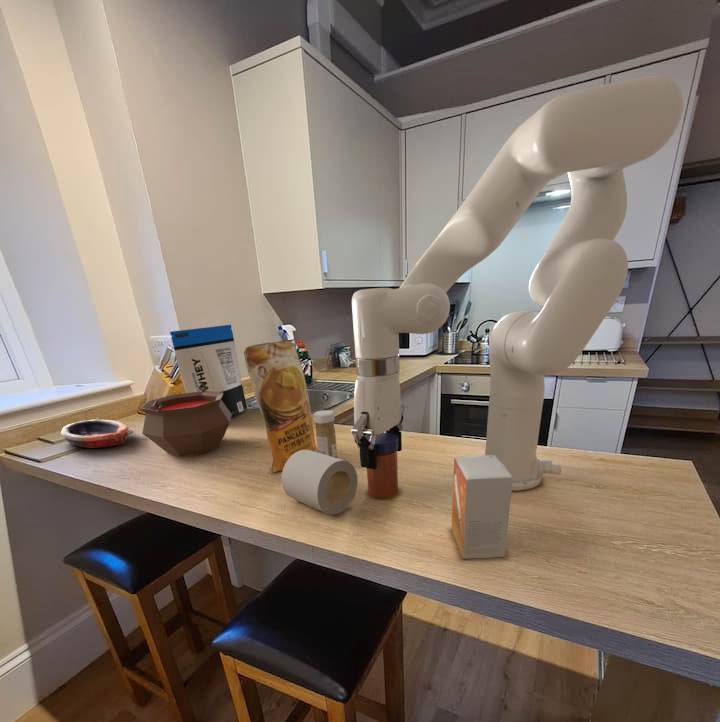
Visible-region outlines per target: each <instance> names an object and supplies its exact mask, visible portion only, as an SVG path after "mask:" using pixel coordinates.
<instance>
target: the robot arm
mask: <svg viewBox="0 0 720 722" xmlns="http://www.w3.org/2000/svg"><path fill="white" fill-rule="evenodd" d="M683 107H684V100H683V93H682V90H681V88H680V86H679V85H678V84H677V83H676V82H675V81H674V80H673V79H671V78H669V77H667V76H665V75H657V74H652V75H645V76H640V77H636V78H630V79H626V80H622V81H617V82H612V83H605V84H601V85H596V86H591V87H587V88H582V89H577V90H574V91H570V92H566V93H563V94H560V95H558V96H556V97H554V98H552V99H551V100H549V101H547V102H546V103H545V104H544V105H542V107H540V108H539V109H538V110H536V111H535V112H534V113H533V114H531V115H530V116H529V117H528V118H526V119H525V120H524V121H523V122H522V123H521V124H519V126H518V127H516V129H515V130H514V131H513V132H512V134H510V135H509V137H508V139H507V140H506V141H505V142H504V144H503V145H502V147H501V148H500V150H499V151H498V153H497V154H496V155H495V157H494V158H493V159H492V161H491V162H490V164H489V165H488V167H487V168H486V170H485V171H484V172H483V174H482V175H481V177H480V178H479V180H478V181H477V182H476V184H475V185H474V187H473V188H472V190H471V191H470V192H469V193H468V194H467V196H466V198H465V199H464V201H463V202H462V203H461V205H460V206H459V207H458V208H457V210H456V211H455V213H454V214H453V216H452V217H451V218H450V219H449V220H448V221H447V223H446V224H445V225H444V227H443V228H442V230H441V231H440V232H439V234H438V235H437V236H436V238H434V241H433V242H432V243H431V244H430V245H429V247H427V249H426V250H425V251H424V253H423V254H422V256H420V258H419V259H418V261H417V262H416V263H415V264H414V266H413V268H412V269H411V270H410V272H409V273H408V274H407V276H406V278H405V279H404V281H403V282H402V283H401V284H400V286H399V288H391V287H374V288H365V289H359V290H357V291H355V292H354V293H353V295H352V297H351V311H352V312H351V313H352V314H351V315H352V326H353V327H352V329H353V340H354V343H353V344H354V354H355V355H354V356H355V369H356V379H355V382H354V392H353V421H354V422H353V423H354V425H353V427H352V428H351V431H350V432H351V435H352V436H353V439H354V443H355V444H356V447H357V448H358V449H359V461H360V467H361V468H365V469H367V468H369V469H376V468H377V457H376V448H374V444H375V441H376V438H377V436H378V435H380V434H382V433H392V434H395V435H397V436H398V445H399V446H398V447H399V448H398V449H397V452H401V451H402V450H403V443H402V442H403V441H402V439H403V437H402V436H403V435H402V432H403V421H404V419H405V418H404V412H405V405H404V403H402V391H401V381H400V373H401V372H400V335H399V334H415V335H426V334H431V333H434V332H436V331H437V330H439V329H440V328H441V327H442V326H443V325H444V324H445V323H446V322H447V320H448V318H449V315H450V311H451V303H450V299H449V296H448V294H447V293H448V291H449V290H450V289H451V288H452V286H453V285H454V284H455V283H456V282H457V281H458V280H459V279H460V278H461V277H463V275H465V273H467V272H468V271H469V270H471V269H472V268H473V267H475V266H477V265H478V264H480V263H481V262H482V261H484V260H485V259H487V258H488V257H490V255H491V254H493V252H495V251H496V250H497V249H498V248H499V247H500V246H501V244H502V243H503V242H504V241H505V239H506V238H507V237H508V235H509V234H510V233H511V231H512V230H513V229H514V227H515V226H516V225H517V223H518V222H519V220H520V219H521V218H522V217H523V215H524V214H525V212H527V211H528V209H529V208H530V206H531V204H532V203H533V202H534V200H535V199H536V198H537V197H538V196H539V194H540V193H541V191H542V190H543V189H544V188H545V187H546V186H547V185H548V184H549V183H550V182H551V181H553V180H555V179H557V178H559V177H562V176H563V175H565V174H567V175H568V179H569V183H570V190H571V197H570V199H571V200H570V204H569V206H568V210H567V212H566V214H565V217H564V218H563V221H562V222H561V224H560V226H559V228H558V229H557V231H556V232H555V234H554V236H553V238H552V240H551V242H550V243H549V245H548V246H547V248H546V250H545V252H543V255H542V257H541V258H540V260H539V262H538V263H537V265H536V266H535V268H534V270H533V271H532V274H531V276H530V279H529V283H528V293H529V296H530V299H531V300H532V302H533V303H535V304H536V305H537V306H539V307H542V309H541V310H517V311H513V312H510V313H508V314H506V315H504V316H502V318H501V319H500V320H499V321H497V322H496V324H495V325H494V327H493V328H492V331H491V333H490V335H489V340H488V361H489V371H490V372H489V379H490V381H489V399H488V408H487V409H488V411H487V425H486V435H485V437H486V438H485V451H484V455H495V456H496V457H497V458H498V459H499V460H500V462H501V463H503V464H504V466H505V467H506V469H507V470H508V471H509V472H510V474H511V475H512V476H513V482H512V491H513V492H514V491H516V492H517V491H524V490H530V489H534V488H535V487H538V486H539V485H540V484H541V482H542V477H543V474H549V475H561V473H562V465H561V464H554V463H553V461H552V460H540V459H538V456H537V450H538V445H539V444H538V443H539V434H540V427H541V420H542V413H543V406H544V399H545V389H546V388H545V377H549V376H554V375H558V374H560V373H562V372H564V371H565V370H566V369H568V368H569V367H570V366H571V365H572V364H573V363H574V362H575V361H576V360H577V359H578V358H579V356H580V355H581V353H582V352H583V351H584V349H585V348H586V347H587V345H588V343H589V342H590V340H591V339H592V338H593V336H594V335H595V333H596V332H597V330H598V329H599V327H600V326H601V324H602V323H603V321H604V320H605V318H606V317H607V315H608V314H609V312H610V311H611V309H612V308H613V306H614V305H615V304H616V302H617V300H618V298H619V297H620V295H621V293H622V291H623V289H624V287H625V284H626V280H627V277H628V270H629V261H628V255H627V253H626V251H625V249H624V247H623V246H622V245H621V244H620V243H618V242H617V241H615V239H616V236H617V234H618V233H619V231H620V229H621V228H622V225H623V223H624V222H625V219H626V215H627V212H628V211H627V210H628V195H627V193H628V192H627V186H626V180H625V174H624V169H626V168H629V167H630V166H633V165H635V164H638V163H640V162H642V161H645V160H647V159H648V158H650V157H652V156H653V155H655V154H656V153H658V152H659V151H660V150H661V149H662V148H663V147H664V146H665V145H666V144H667V143H668V142H669V141H670V139H671V138H672V137H673V135H674V134H675V132H676V130H677V129H678V126H679V124H680V121H681V118H682V114H683ZM366 436H371V437H370V440H369V441H368V440H367V439H366Z"/></svg>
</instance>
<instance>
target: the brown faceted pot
mask: <svg viewBox="0 0 720 722" xmlns="http://www.w3.org/2000/svg"><path fill="white" fill-rule="evenodd" d="M201 386H203V387H204V389H202V388H201ZM198 388H199V389H200V390H201V392H191V393H186V392H184V393H183V392H182V393H174V394H170V395H166V396H163V397H158V398H154V399H150V400H147V401H145V403H144V404H142V405H141V406H140V407H139V408H138V409H139V410H141V411H142V412H143V413H145V416H144V421H143V427H142V435H144V436H145V437H146V438H147V439H149V440H150V441H151V442H153V443H154V444H155V445H156V446H158V447H159V448H160V449H161V450H163V451H164V452H166V453H167V454H168V455H171V456H176V457H181V458H183V457H184V458H185V457H191V456H199V455H204V454H206V453H209V452H212V451H214V450H216V449H218V448H220V446H221V444H222V441H223V439H224V437H225V435H226V432H227V430H228V428H229V426H230V423H231V419H232V418H231V416H232V414H231V413H230V411H229V410H228V408H227V407H226V406H225V404H224V403H223V401H222V400H221V398H222V396H223V393H220V392H209V391H205V390H206V389H207V386H205V385H204V384H203V383H202V382H201V383H200V385H199V386H198Z"/></svg>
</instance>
